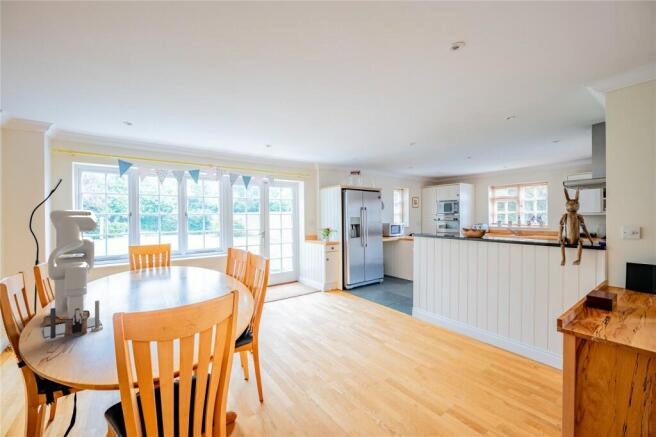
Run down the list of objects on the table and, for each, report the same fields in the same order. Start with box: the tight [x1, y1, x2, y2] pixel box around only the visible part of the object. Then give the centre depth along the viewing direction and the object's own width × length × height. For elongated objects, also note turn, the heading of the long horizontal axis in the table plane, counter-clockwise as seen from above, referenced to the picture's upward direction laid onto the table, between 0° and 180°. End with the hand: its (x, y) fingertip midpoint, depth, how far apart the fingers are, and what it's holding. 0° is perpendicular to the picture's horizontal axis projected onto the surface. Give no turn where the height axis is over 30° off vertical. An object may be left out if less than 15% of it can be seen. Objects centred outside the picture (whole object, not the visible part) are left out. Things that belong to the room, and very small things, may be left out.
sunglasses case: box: [40, 309, 91, 329], centre depth 141 cm, size 18×7×7 cm, turn 125°
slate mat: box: [43, 316, 103, 339], centre depth 133 cm, size 14×20×1 cm
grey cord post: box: [90, 300, 104, 332], centre depth 131 cm, size 4×4×14 cm
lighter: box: [63, 312, 88, 338], centre depth 125 cm, size 8×3×10 cm, turn 114°
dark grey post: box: [45, 307, 61, 343], centre depth 120 cm, size 4×4×14 cm
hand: (76, 329), depth 125 cm, fingers open, 6 cm apart
